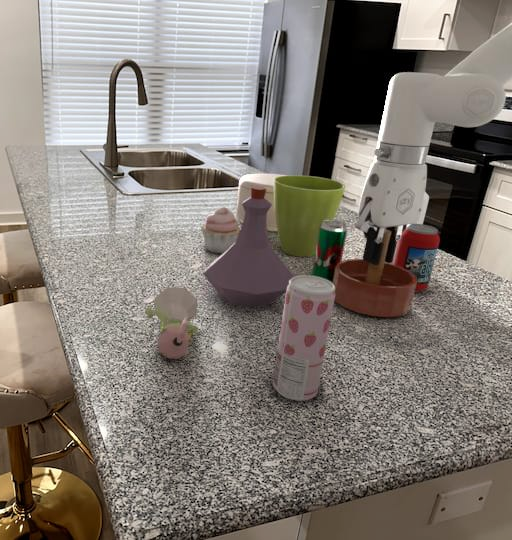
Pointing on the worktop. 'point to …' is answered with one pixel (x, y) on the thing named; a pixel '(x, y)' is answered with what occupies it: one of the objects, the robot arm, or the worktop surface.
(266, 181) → the container
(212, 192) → the worktop surface
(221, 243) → the cupcake
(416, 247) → the beverage can
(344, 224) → the soda can
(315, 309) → the beverage can
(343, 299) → the bowl
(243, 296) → the flask
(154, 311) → the figurine
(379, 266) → the stick
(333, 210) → the flower pot
